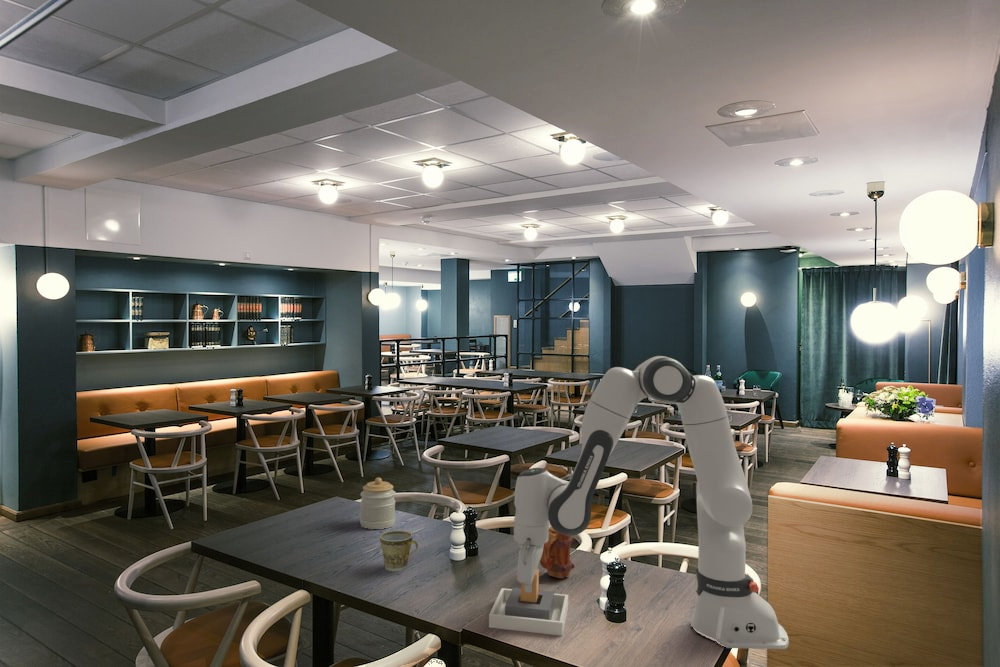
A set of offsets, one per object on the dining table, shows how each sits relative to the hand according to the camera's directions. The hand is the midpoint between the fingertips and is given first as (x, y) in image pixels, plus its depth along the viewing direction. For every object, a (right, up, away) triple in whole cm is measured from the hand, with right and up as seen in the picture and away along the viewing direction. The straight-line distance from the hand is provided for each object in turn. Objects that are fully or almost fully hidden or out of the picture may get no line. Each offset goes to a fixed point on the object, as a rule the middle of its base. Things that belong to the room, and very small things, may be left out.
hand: (530, 586), depth 157 cm
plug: (0, -4, 0) cm, 4 cm away
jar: (-53, -7, +74) cm, 92 cm away
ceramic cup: (-38, -8, +32) cm, 51 cm away
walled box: (0, -9, 0) cm, 9 cm away
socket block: (0, -8, 0) cm, 8 cm away
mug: (+8, -9, +27) cm, 29 cm away
